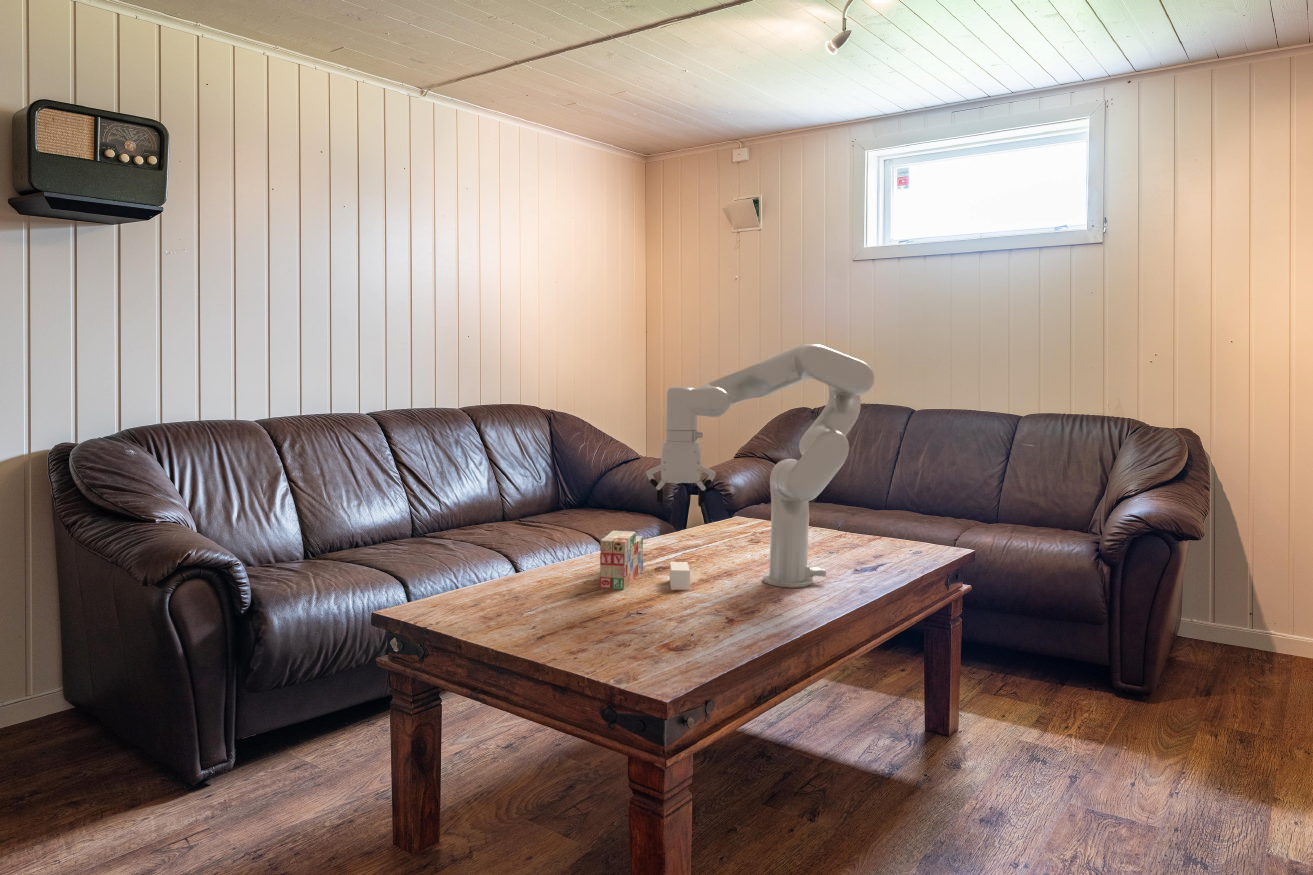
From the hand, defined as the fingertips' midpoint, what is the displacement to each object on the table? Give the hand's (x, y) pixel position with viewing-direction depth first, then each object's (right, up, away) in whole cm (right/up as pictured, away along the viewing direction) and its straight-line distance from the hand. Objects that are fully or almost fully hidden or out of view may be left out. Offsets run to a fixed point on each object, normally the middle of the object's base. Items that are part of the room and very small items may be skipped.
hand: (680, 505), depth 217 cm
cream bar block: (0, -20, +2) cm, 20 cm away
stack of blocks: (-15, -20, +7) cm, 26 cm away
